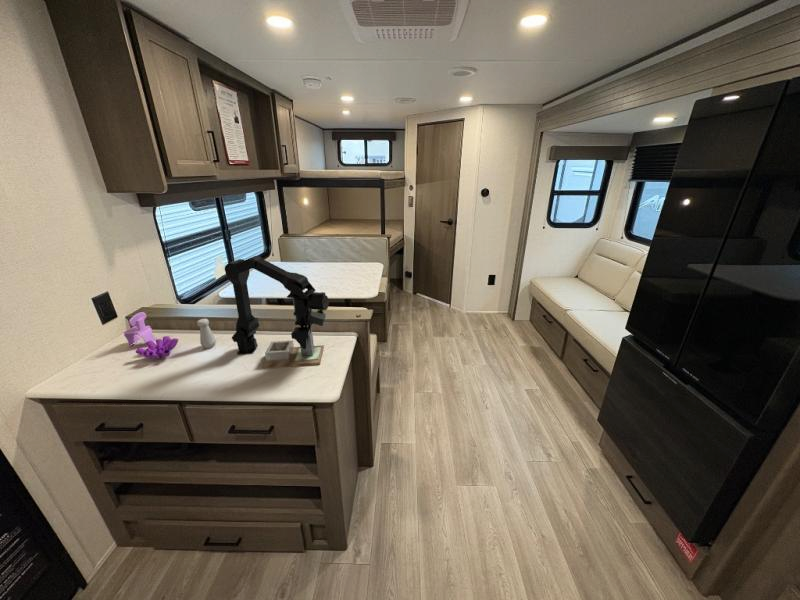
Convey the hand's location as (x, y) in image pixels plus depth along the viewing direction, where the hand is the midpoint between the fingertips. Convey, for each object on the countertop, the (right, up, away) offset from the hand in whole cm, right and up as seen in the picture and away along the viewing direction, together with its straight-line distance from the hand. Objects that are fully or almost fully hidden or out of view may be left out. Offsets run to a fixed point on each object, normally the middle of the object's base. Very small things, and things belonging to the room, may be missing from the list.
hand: (306, 342), depth 125 cm
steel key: (0, -5, +2) cm, 5 cm away
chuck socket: (-11, -6, +2) cm, 13 cm away
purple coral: (-63, -6, +4) cm, 63 cm away
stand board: (-5, -6, +2) cm, 9 cm away
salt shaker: (-46, -3, +10) cm, 47 cm away
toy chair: (-78, -2, +13) cm, 79 cm away
